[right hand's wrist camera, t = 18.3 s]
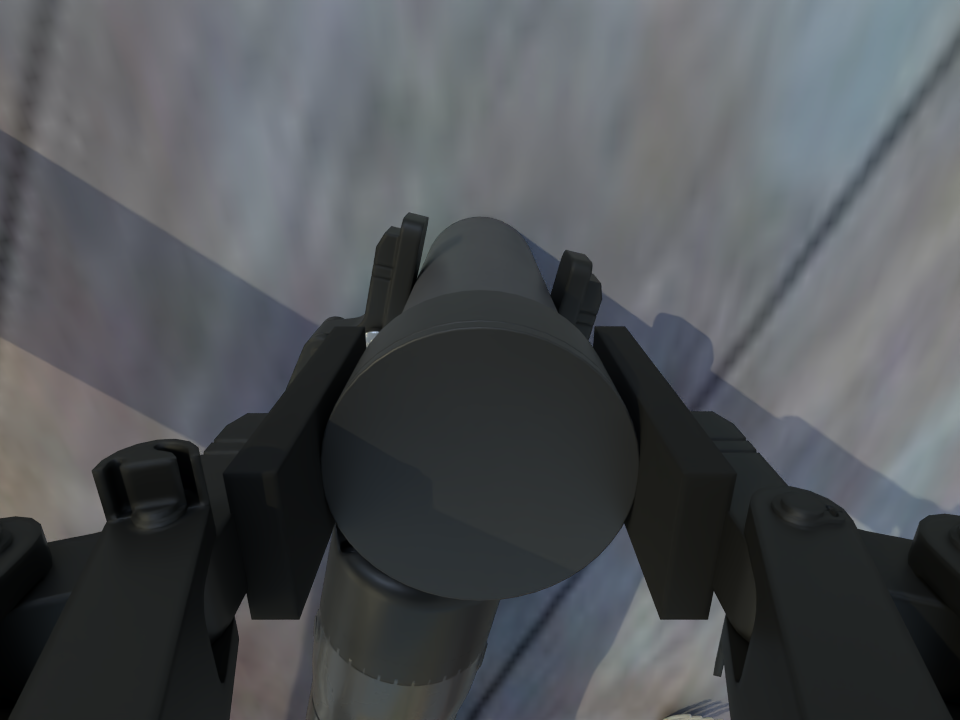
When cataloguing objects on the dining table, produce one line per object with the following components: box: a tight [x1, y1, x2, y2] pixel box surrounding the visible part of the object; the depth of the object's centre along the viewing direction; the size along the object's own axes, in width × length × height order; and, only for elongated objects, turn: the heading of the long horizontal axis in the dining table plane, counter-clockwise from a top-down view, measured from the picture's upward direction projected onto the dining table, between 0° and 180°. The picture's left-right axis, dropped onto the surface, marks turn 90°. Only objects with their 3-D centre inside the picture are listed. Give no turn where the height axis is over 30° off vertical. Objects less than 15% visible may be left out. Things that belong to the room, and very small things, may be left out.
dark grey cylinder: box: [402, 217, 558, 313], centre depth 18 cm, size 5×5×16 cm
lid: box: [320, 290, 640, 601], centre depth 11 cm, size 6×6×2 cm
